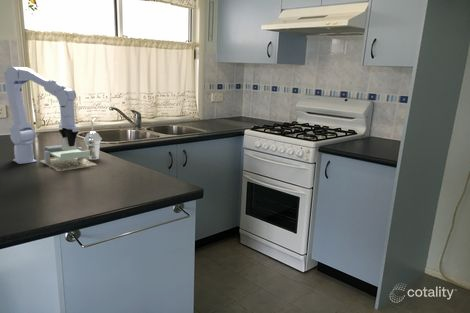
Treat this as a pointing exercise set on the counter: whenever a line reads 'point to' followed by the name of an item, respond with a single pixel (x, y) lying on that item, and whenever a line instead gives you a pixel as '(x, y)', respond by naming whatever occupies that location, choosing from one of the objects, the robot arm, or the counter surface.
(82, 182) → the counter surface
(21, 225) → the counter surface
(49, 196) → the counter surface
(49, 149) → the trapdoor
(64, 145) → the white rectangular block
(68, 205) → the counter surface
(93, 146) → the cup with straw
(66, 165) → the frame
